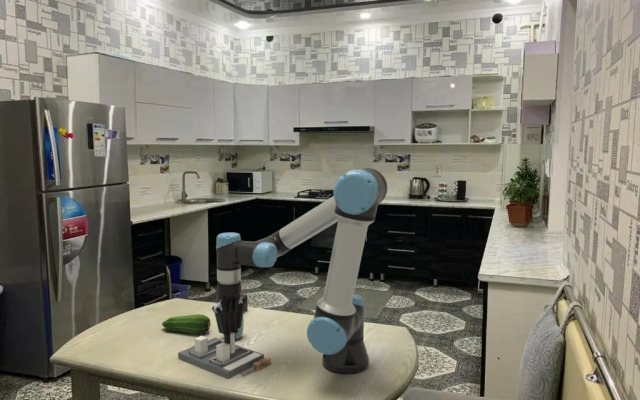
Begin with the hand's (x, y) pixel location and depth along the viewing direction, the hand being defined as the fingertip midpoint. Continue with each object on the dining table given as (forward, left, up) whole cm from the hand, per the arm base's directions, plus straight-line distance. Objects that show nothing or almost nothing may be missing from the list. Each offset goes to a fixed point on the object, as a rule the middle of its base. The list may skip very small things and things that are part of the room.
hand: (230, 351), depth 158 cm
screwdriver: (-9, -2, -4) cm, 10 cm away
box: (+34, -36, -4) cm, 50 cm away
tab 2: (0, +3, -2) cm, 4 cm away
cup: (+15, -15, -4) cm, 22 cm away
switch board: (+5, 0, -4) cm, 6 cm away
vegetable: (+34, -9, -4) cm, 35 cm away
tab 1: (+10, +4, -2) cm, 11 cm away
